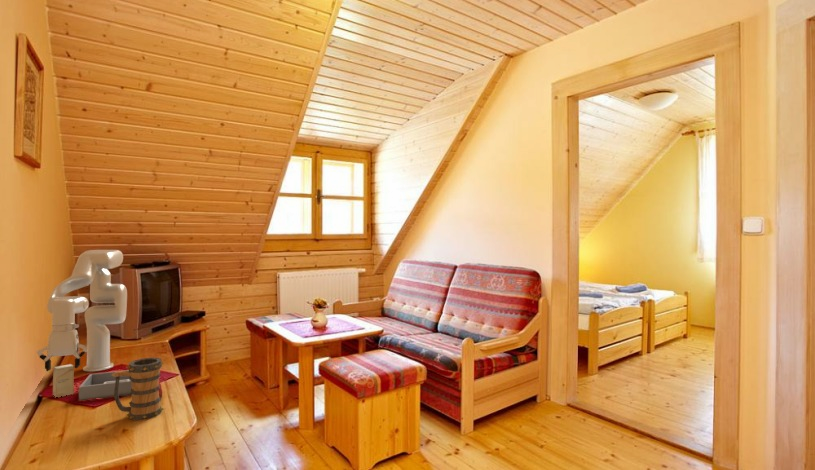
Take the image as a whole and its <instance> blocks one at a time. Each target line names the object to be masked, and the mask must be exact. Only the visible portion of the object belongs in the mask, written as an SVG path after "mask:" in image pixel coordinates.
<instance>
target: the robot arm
mask: <svg viewBox="0 0 815 470" xmlns="http://www.w3.org/2000/svg"><path fill="white" fill-rule="evenodd" d="M123 260H124V254H123V252H122V251H121V250H118V249H90V250H89V249H88V250H85V251H83V252H82V253H81V254H79V256H78V259H77V261H76V263H75V264H74V265H75V266H74V268H73V270H72V273H71V275H70V276H69V277H68V278H66V279H64V280H63V281H61V282H60V283H58V284H57V285H55V287H54V288H53V289H52V291H51V294H50V295H49V298H48V300H47V304H46V309H47V312H48V313H50V314H51V316H52V318H51V319H52V321H51V331H50V332H49V335H48V341H47V346H45V347H43V348H41V349H39V350H37V351H36V354H37V356H39V358H40V359H41V360H42V361H43V362H44V370H45V371H46V372H49V371H50V370H51V369H52V360H51V358H52V357H63V356H74V357H75V359H74V369H78V368H79V367H80V366H81V357H83V356H84V355H85V354H86V365H85V366H83V367H82V371H83V372H86V373H87V372H89V373H90V372H91V373H93V372H100V371H106V370H109V369H111V368H113V367H114V363H113V362H111V351H110V350H111V331H110V330H109V328H108V327H107V325H118V324H122V323H125V320H126V319H127V309H128V308H127V307H128V305H127V304H128V290H127V287H126V285H125V284H122V283H112V280H111V279H112V278H111V277H112V274H111V272H110V270H112V269H115V268H118V267H120V266H121V265H122V263H123V262H124V261H123ZM89 285H90V286H89ZM88 286H89V300H90V301H91V302H92V303H94V304H95V303H97V304H104V303H105V304H107V303H114V305H113V304H112V305H111V304H110V305H93V306H90V307H89V305H90V303H89V302H90V301H89V300H88V298H87V297H85V296H80V295H79V296H78V295H77V296H76V295H75V296H73V295H72V296H65V295H67V294H68V293H70V292H73V291H76V290H79V289H82V288H84V287H88ZM81 313H84V321H85V325H86V345H84V344H82V343H80V341H79V333H78V330H77V328H79V327H80V324H76V321H75V320H76V319H75V318H76V317H75V316H76V315H75V314H81ZM80 349H82V351H81V352H79V351H80ZM43 352H46V354H47V356H46V354H44V353H43Z"/></svg>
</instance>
